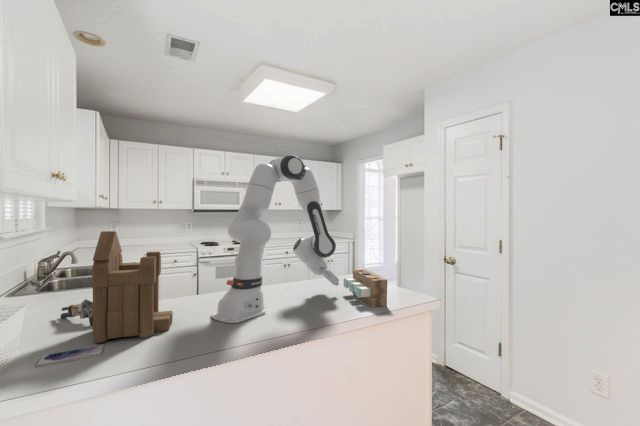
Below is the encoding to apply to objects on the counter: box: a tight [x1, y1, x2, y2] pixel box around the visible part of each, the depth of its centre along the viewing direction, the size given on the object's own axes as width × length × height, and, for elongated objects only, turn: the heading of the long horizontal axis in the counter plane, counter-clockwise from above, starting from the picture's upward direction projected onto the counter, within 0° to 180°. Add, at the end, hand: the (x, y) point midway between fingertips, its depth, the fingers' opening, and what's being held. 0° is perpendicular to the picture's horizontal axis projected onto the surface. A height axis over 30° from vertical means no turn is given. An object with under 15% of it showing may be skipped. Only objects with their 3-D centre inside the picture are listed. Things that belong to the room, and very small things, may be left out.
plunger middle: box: [348, 282, 364, 294], centre depth 147 cm, size 9×4×4 cm, turn 106°
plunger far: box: [343, 277, 358, 289], centre depth 154 cm, size 9×4×4 cm, turn 106°
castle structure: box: [91, 230, 174, 344], centre depth 111 cm, size 27×22×35 cm
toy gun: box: [60, 298, 93, 328], centre depth 113 cm, size 3×21×10 cm, turn 69°
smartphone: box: [34, 344, 106, 369], centre depth 88 cm, size 7×1×15 cm
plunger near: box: [355, 286, 371, 299], centre depth 139 cm, size 9×4×4 cm, turn 106°
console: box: [352, 268, 388, 308], centre depth 148 cm, size 7×24×13 cm, turn 16°
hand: (337, 284), depth 152 cm, fingers closed
